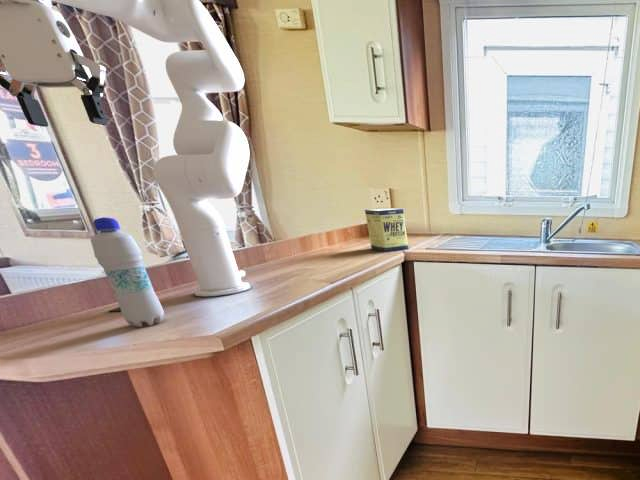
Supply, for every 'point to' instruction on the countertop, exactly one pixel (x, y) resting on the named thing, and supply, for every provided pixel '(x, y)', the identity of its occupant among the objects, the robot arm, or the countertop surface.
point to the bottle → (126, 273)
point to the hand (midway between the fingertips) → (69, 124)
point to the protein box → (387, 229)
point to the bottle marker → (115, 310)
